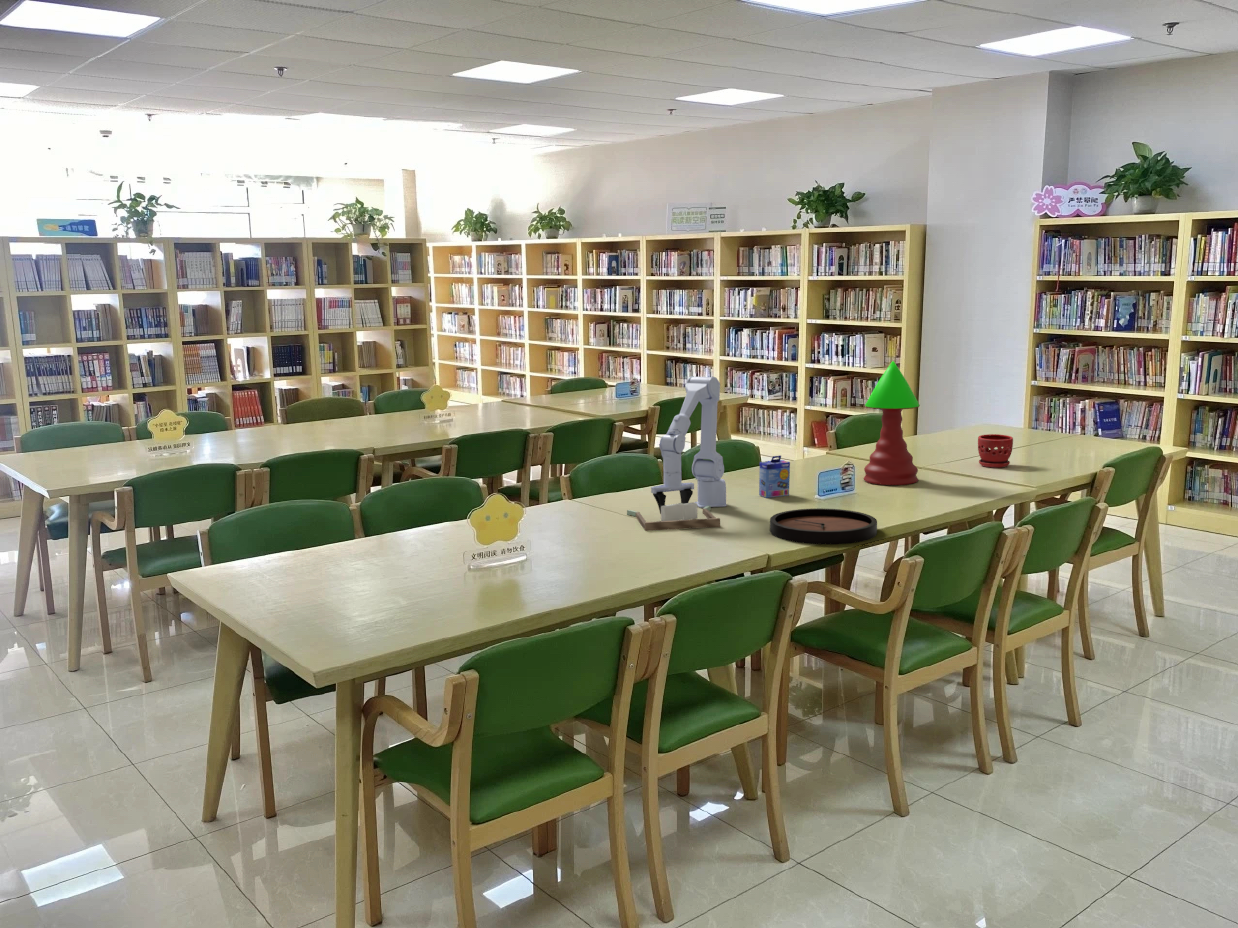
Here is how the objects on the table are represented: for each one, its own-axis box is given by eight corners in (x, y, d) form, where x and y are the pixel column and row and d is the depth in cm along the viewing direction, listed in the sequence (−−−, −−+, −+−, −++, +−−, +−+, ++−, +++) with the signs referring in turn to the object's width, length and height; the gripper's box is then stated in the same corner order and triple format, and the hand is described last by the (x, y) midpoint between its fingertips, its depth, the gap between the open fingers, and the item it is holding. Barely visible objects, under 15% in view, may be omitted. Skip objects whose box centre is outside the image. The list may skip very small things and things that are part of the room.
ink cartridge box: (766, 498, 351) (766, 457, 349) (758, 495, 356) (758, 455, 354) (790, 495, 355) (790, 455, 353) (781, 492, 360) (781, 452, 358)
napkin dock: (710, 509, 335) (710, 502, 335) (727, 526, 311) (727, 518, 311) (626, 514, 332) (626, 506, 331) (637, 531, 308) (637, 523, 308)
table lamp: (924, 485, 366) (927, 361, 359) (869, 486, 367) (871, 362, 359) (910, 475, 386) (913, 357, 378) (858, 476, 386) (860, 359, 379)
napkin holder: (655, 524, 318) (655, 507, 317) (660, 516, 329) (660, 499, 328) (702, 525, 315) (702, 507, 314) (706, 517, 326) (706, 500, 325)
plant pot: (969, 465, 404) (970, 435, 402) (994, 462, 410) (995, 433, 408) (994, 470, 393) (995, 439, 391) (1019, 467, 398) (1020, 437, 396)
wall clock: (898, 524, 292) (804, 536, 281) (898, 538, 293) (804, 550, 282) (839, 504, 321) (751, 514, 310) (838, 517, 322) (751, 527, 311)
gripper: (686, 467, 329) (687, 508, 332) (646, 471, 324) (647, 513, 326) (697, 471, 323) (697, 512, 325) (656, 475, 317) (656, 517, 320)
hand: (673, 513), depth 325 cm, fingers open, 7 cm apart
